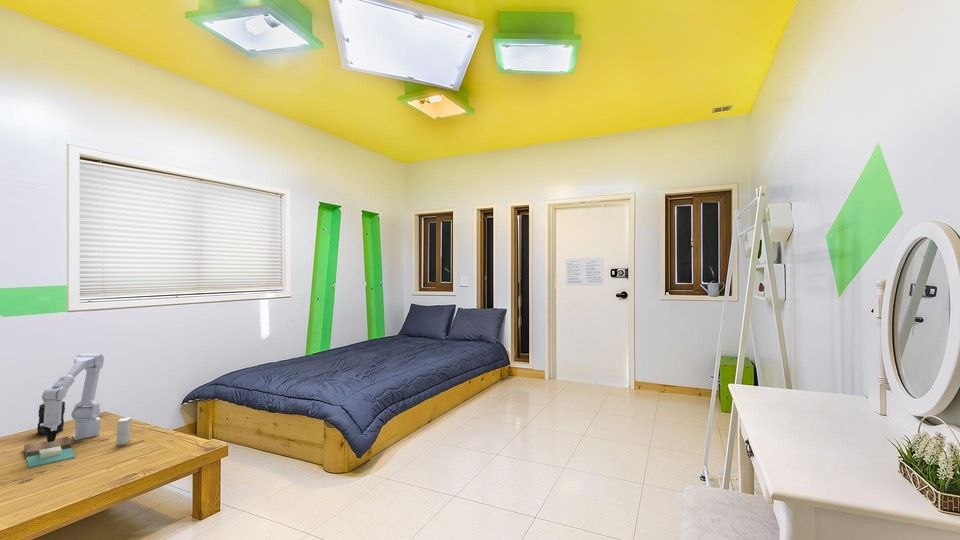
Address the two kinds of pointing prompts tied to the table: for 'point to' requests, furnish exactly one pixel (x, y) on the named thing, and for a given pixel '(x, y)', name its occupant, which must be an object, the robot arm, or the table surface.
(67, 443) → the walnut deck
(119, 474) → the table surface
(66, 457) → the teal mat
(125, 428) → the skincare box
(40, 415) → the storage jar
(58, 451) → the ceramic tile
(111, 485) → the table surface
